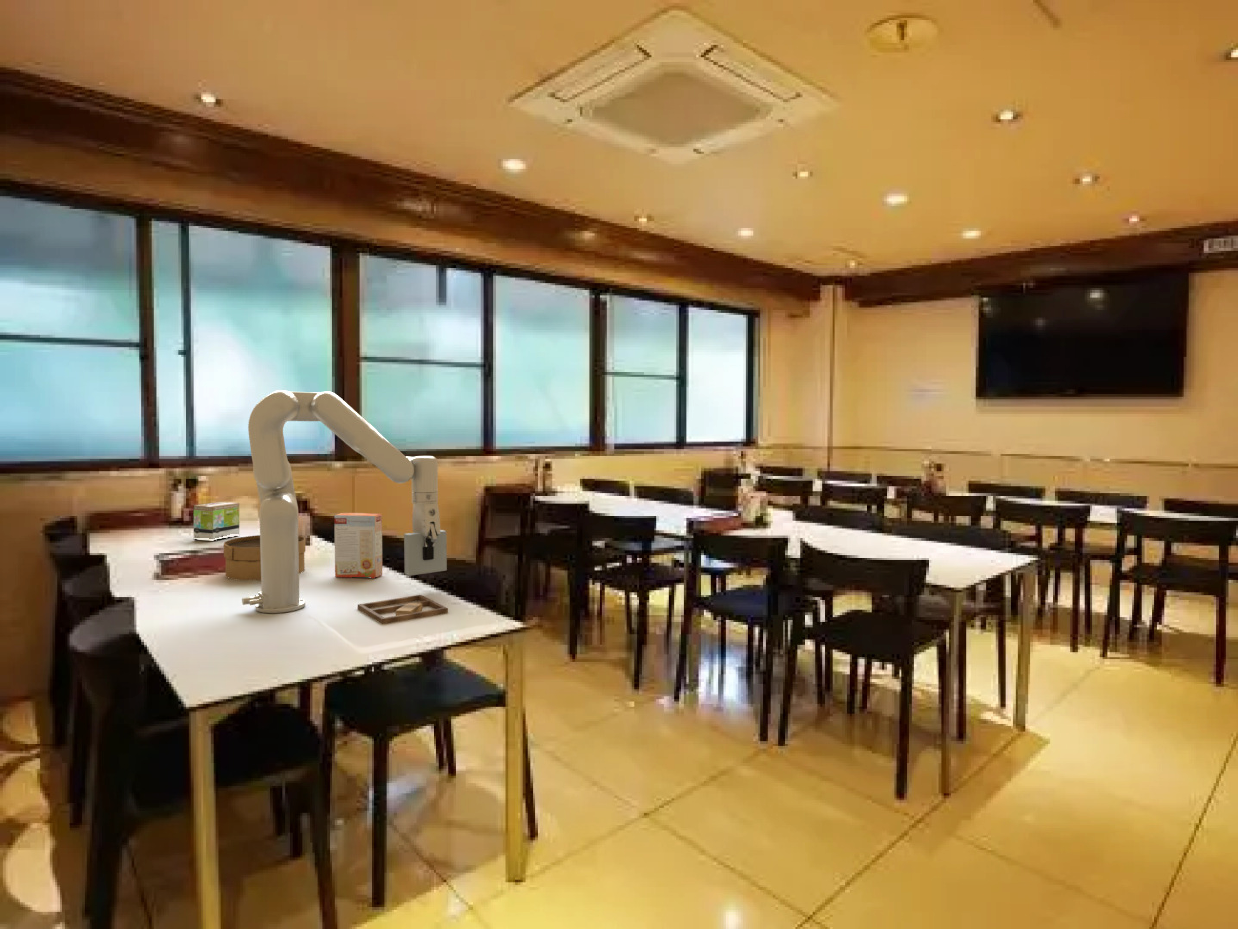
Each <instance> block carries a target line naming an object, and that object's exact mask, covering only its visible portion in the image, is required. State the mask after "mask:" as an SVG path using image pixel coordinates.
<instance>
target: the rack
mask: <svg viewBox="0 0 1238 929" xmlns="http://www.w3.org/2000/svg"><path fill="white" fill-rule="evenodd" d="M407 603H421V604H422V608H423V607H430V608H433V609H428V610H422V611H421V612H415V613H409V614H403V615H397V616H396V615H392V616H387V617H384V616H383V615H382V614H387V613H393V612H395V613H396V610H397V609H399V608H401V607H402V606H404V605H406V604H407ZM357 610H358V611H360V612H362V613H363V614H365V615H366V616H368V617H370V618H371V619H373V620H375V621H376V622H377V623H380V625H385V624H386V625H387V624H391V623H396V622H403V621H408V620H414V619H421V618H425V617H427V618H428V617H432V616H436V615H437V616H438V615H444V614H448V613H449V608H448V607H447V606H445V605H442V604H441V603H439V602H436V601H434V600H432V599H430V598H428V597H426V596H424V595H422V594H417V595H411V596H404V597H398V598H391V599H384V600H378V601H377V600H376V601H371V602H363V603H358V604H357Z"/></svg>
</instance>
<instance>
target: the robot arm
mask: <svg viewBox="0 0 1238 929" xmlns="http://www.w3.org/2000/svg"><path fill="white" fill-rule="evenodd" d="M286 422H320V423H322V424H323V425H324V426H325V427H326V428H327V429H328V430H330V431H331V432H332V433H333V434H335V435H336V436H337V438H339V439H340V440H341V441H343V442H344V443H345V445H347V446H348V447H350V448H351V449H352V450H353V451H355V452H356V453H358V454H360V455H361V456H363V457H364V458H365V459H366V460H368V461H369V462H370V463H371V464H373V465H374V466H375V467H376V468H378V470H380V471H381V472H382V473H383V474H384V475H385V476H386V477H387V479H389V480H391V481H392V482H394V483H396V484H404V483H407V482H409V481H410V480H411V504H412V515H411V516H412V517H411V518H412V520H411V521H412V522H411V523H412V533H416V532H417V533H420V534H421V535H422V536H424V547H423V560H432V559H434V542H435V541H436V540H437V536H439V535H440V530H441V520H440V516H441V515H440V509H439V505H438V504H439V503H438V502H439V489H438V488H439V485H438V484H439V479H438V477H439V475H438V474H439V473H438V471H439V470H438V469H439V468H438V464H439V463H438V459H437V457H435V456H433V455H417V456H405V454H403V453H402V452H401V451H400V450H399V449H398V448H396V447H395V446H394V445H393V444H392V443H391V442H389V441H388V440H387V439H386V438H385V437H384V436H383V435H382V434H381V433H380V432H379V431H378V430H377V429H376V428H375V427H374V425H372V424H371V423H370V422H369V421H367V420H366V419H365V418H364V417H362V415H360V414H359V413H358V412H357V411H356V410H355V409H354V408H353V407H352V406H351V405H349V404H348V403H347V402H346V401H345V400H343V398H341V397H340V396H339V395H337V394H336V393H335V392H332V391H321V392H320V391H318V392H314V391H313V392H311V391H309V392H307V391H288V390H282V389H281V390H280V389H279V390H275V391H273V392H271V393H270V394H268V395H266V396H264V397H263V398H262V399H260V401H259V402H257V404H256V405H255V406H254V407H253V409H252V411H251V413H250V415H249V419H248V424H247V425H248V427H247V429H248V440H249V445H250V452H251V453H250V454H251V460H252V466H253V468H252V469H253V471H252V472H253V478H254V480H255V483H256V484H255V485H256V489H257V494H258V499H259V505H260V508H259V513H258V515H259V518H258V519H259V520H258V523H259V535H260V553H261V580H260V586H261V587H260V588H261V589H260V591H258V592H257V594H254V596H247V597H242V599H241V602H242V605H243V606H245V605H250V606H254V605H255V607H254V608H255V609H254V610H255V611H256V612H258V613H263V614H278V613H287V612H294V611H297V610H301V609H302V608H304V607H306V600H305V599H303V598H300V574H299V551H298V536H299V506H298V501H297V496H296V490H295V485H294V479H293V472H292V467H291V463H290V462H289V461H288V456H287V450H286V445H285V438H284V437H285V436H284V426H285V424H286ZM428 534H430V535H431V536H428ZM427 538H430V539H428V540H427Z"/></svg>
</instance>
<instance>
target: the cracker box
mask: <svg viewBox="0 0 1238 929" xmlns="http://www.w3.org/2000/svg"><path fill="white" fill-rule="evenodd" d="M333 517H334V519H333V520H334V575H335V576H334V577H335V578H352V577H371V578H370V579H376V578H375V577H377V578H379V577H381V576H382V575H383V522H382V521H383V519H382V517H383V514H382V513H366V512H341V513H336V514H334V516H333Z"/></svg>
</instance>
